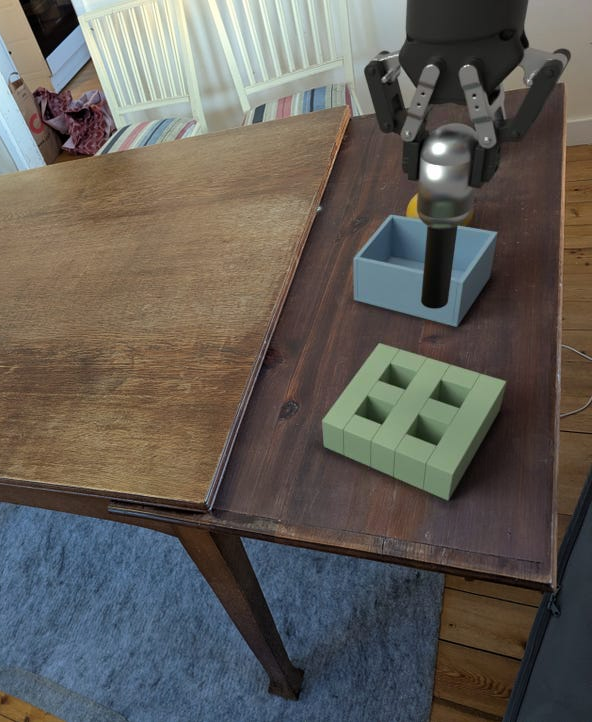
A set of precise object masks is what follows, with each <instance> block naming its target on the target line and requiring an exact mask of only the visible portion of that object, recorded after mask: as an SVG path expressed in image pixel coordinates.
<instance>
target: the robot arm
mask: <svg viewBox="0 0 592 722" xmlns="http://www.w3.org/2000/svg"><path fill="white" fill-rule="evenodd" d="M528 6H529V0H406V8H405V10H406V11H405V40H404V42H403V44H402V46H401V48H400V49H399V50H396V51H395V50H394V51H392V52H390V51H389V50H382V51H380V52H379V53H378V54H377V55H375V57H373V58H372V59H371V60H370V61H369V63H367V64H366V66H365V67H364V69H363V74H364V77H365V81H366V84H367V88H368V92H369V95H370V98H371V102H372V107H373V110H374V113H375V117H376V120H377V125H378V127H379V131H381V132H382V133H383V134H390V133H394V134H396V135H398V136H400V139H401V140H402V158H401V159H402V162H401V169H402V172H403V173H404V174H407V180H408V181H412V182H418V181H419V167H420V154H421V149H422V146H423V143H424V142H425V140H426V139H427V137H428V136H429V135H430V130H429V129H427V128H426V127H427V125H428V123H429V121H430V117H431V115H432V113H433V111H434V108H435V106H436V105H437V106H438V105H443V104H449V103H454V104H458V105H461V106H467V107H468V111H469V115H470V120H471V122H473V123H474V124H475V128H476V132H477V137H478V141H479V144H478V145H477V147H476V149H475V156H474V163H473V171H472V178H471V187H472V188H476V189H482V187H483V186H484V185H485V183H490V182H491V180H492V178H493V177H494V176H495V175H496V173H497V171H498V170H499V168H500V163H501V156H502V150H503V144H504V143H507V142H510V143H519V142H521V141H522V140H523V139H524V138H525V136H526V135H527V134H528V133H529V131H530V129H531V128H532V127H533V126H534V124H535V122H536V121H537V119H538V117H539V115H540V113H541V112H542V110H543V108H544V106H545V104H546V103H547V101H548V100H549V98H550V96H551V94H552V92H553V91H554V89H555V87H556V86H557V84H558V82H559V80H560V78H561V76H562V75H563V73H564V71H565V69H566V68H567V67H568V64H569V62H570V60H571V59H572V53H571V51H570V49H567V48H564V47H562V48H558V49H555V50H554V51H553V52H548V51H545V50H542V49H541V50H540V49H537V48H534V47H530V41H529V39H528V37H527V34H526V30H525V23H526V18H527V12H528ZM517 67H520V68H522V70H523V73H524V74H523V78H522V82H523V84H524V85H525V86H526V87H528V88H529V90H528V92H527V93H526V95H525V97H524V98H523V101H522V103H521V105H520V106H519V108H518V110H517V112H516V114H515V116H513V117H508V118H507V115H506V110H505V109H506V108H505V100H506V98H505V97H506V96H505V95H506V94H505V90H504V89H505V88H504V84H503V81H504V80H506V79H507V77H508V76H510V75H511V74H512V73H513V72H514V71H515V70H516V68H517ZM401 68H402V69H401ZM402 70H403V71H404V73H405V74H406V75H407V77H408V79H409V80H410V81H411V83H412V85H413V86H414V88H415V91H414V94H413V96H412V99H411V102H410V105H409V106H408V110H407V109H406V105H405V103H404V98H403V94H402V91H401V85H400V82H399V77H400V74H401V73H402Z"/></svg>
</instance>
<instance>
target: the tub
mask: <svg viewBox="0 0 592 722" xmlns="http://www.w3.org/2000/svg"><path fill="white" fill-rule="evenodd" d="M498 235H499V232H498V231H493V230H489V229H481V228H475V227H469V226H466V227H464V226H457V234H456V242H455V250H454V258H453V266H452V274H451V282H450V290H449V298H448V303H447V304H446V305H445V306H444V307H442V308H438V309H431V308H427V307H425V306H424V305H423V304H422V303H421V296H422V284H423V272H424V261H425V249H426V238H427V225H425V224H424V223H423V222H422V221H421V219H415V218H409V217H406V216H403V215H402V216H401V215H397V214H389V215H388V216H387V218H386V219H385V220H384V221H383V222H382V224H381V225H379V227H378V229H376V231H375V232H374V233H373V235H371V236H370V238H369V239H368V240H367V242H365V244H364V245H363V246H362V248H361V249H360V250H358V252H357V253H356V254H355V256H354V257H353V259H352V260H353V262H352V263H353V301H356V302H359V303H360V302H361V303H364V304H368V305H371V306H375V307H378V308H383V309H387V310H390V311H394V312H398V313H402V314H406V315H409V316H410V315H411V316H413V317H417V318H421V319H426V320H429V321H433V322H437V323H440V324H444V325H448V326H452V327H455V328H458V326H459V325H460V323H461V322H462V320H463V319H464V317H466V316H465V315H466V314H467V313H468V311H469V310H470V308H471V306H472V305H473V304H474V302H475V301H476V299H477V298H478V297H479V295H480V293H481V292H482V290H483V288H484V287H485V286H486V284H487V283H488V281H489V280H490V278H491V273H492V267H493V262H494V256H495V251H496V246H497V240H498Z"/></svg>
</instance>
